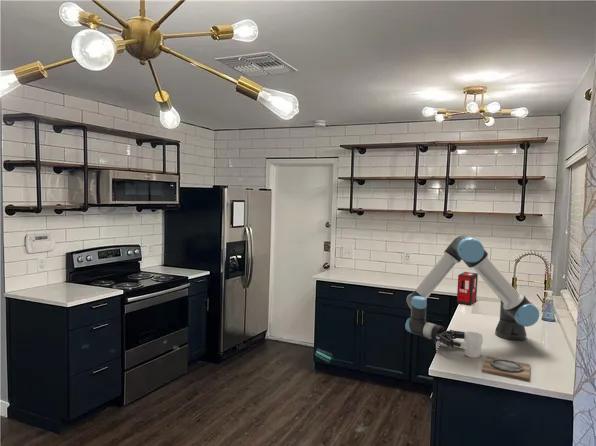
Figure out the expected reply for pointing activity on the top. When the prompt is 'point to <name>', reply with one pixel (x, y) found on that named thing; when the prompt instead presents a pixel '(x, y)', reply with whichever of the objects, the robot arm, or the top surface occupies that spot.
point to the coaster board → (506, 368)
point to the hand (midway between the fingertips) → (475, 343)
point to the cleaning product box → (467, 288)
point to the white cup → (473, 344)
